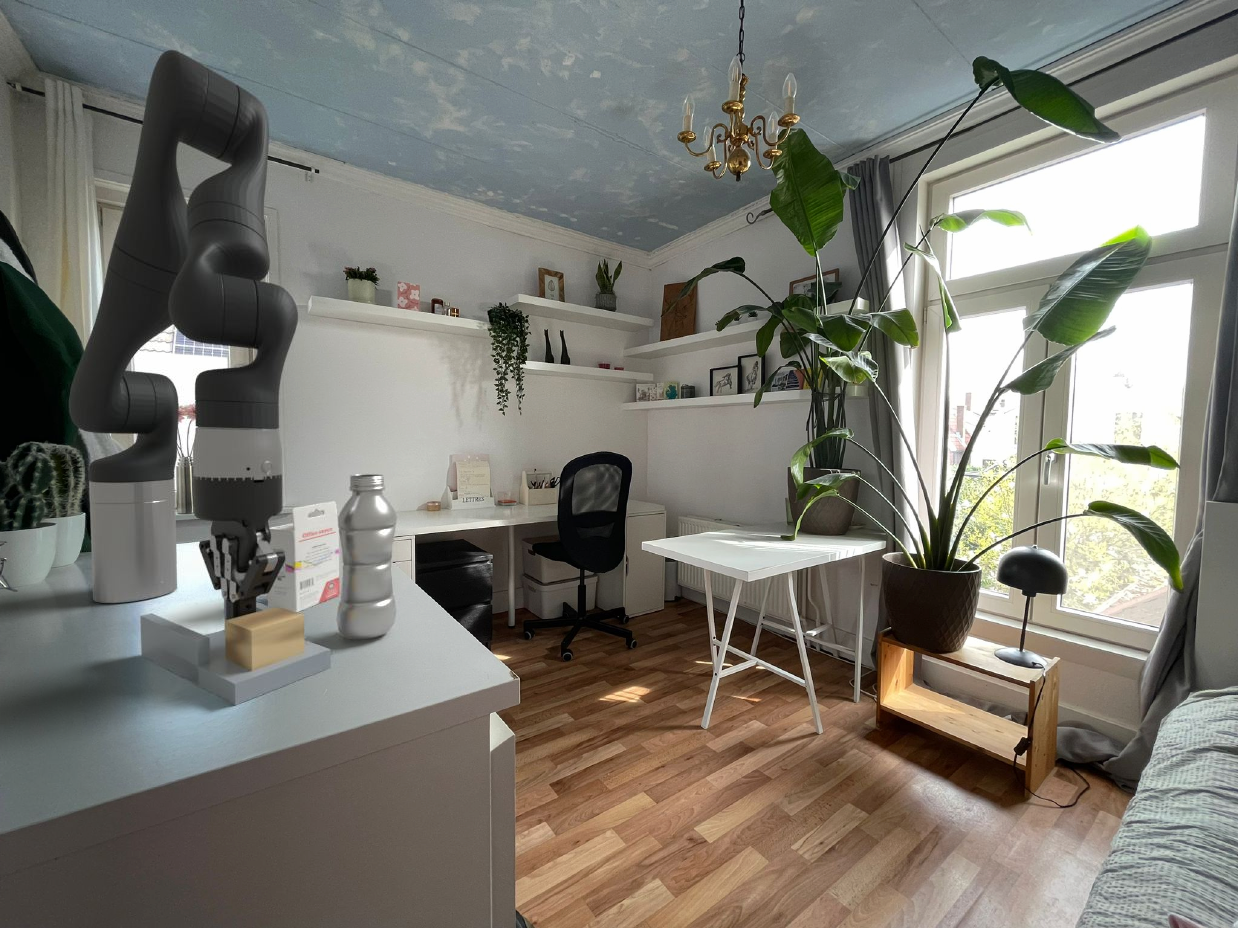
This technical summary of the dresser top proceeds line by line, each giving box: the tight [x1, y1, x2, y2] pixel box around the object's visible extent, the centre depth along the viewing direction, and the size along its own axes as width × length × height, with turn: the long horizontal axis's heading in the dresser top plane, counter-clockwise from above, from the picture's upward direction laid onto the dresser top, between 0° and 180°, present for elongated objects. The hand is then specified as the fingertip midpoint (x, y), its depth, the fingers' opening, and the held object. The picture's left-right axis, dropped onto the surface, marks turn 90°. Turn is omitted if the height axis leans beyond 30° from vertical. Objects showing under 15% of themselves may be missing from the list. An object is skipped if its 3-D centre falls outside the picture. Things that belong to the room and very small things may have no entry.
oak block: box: [224, 607, 306, 671], centre depth 53 cm, size 5×5×4 cm
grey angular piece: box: [139, 599, 331, 706], centre depth 56 cm, size 20×9×4 cm, turn 61°
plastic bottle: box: [336, 473, 398, 640], centre depth 63 cm, size 6×7×20 cm
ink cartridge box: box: [266, 500, 341, 613], centre depth 75 cm, size 9×5×15 cm, turn 168°
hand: (241, 631), depth 55 cm, fingers closed
